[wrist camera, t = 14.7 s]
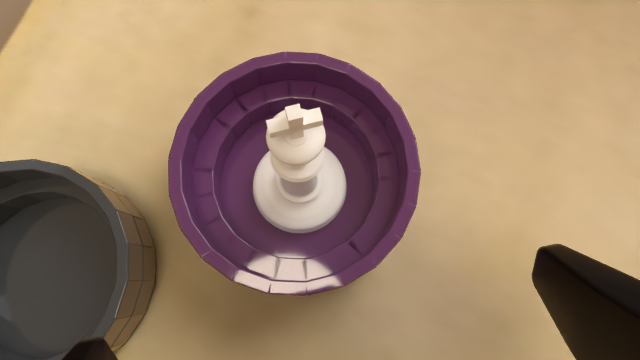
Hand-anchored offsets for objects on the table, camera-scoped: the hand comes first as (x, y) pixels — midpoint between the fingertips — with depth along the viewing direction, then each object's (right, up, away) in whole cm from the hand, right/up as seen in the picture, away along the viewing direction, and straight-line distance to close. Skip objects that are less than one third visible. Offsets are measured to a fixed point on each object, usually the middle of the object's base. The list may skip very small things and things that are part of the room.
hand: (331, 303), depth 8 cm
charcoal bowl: (-13, -2, +12) cm, 18 cm away
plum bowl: (-1, +2, +14) cm, 14 cm away
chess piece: (-1, +2, +13) cm, 13 cm away
